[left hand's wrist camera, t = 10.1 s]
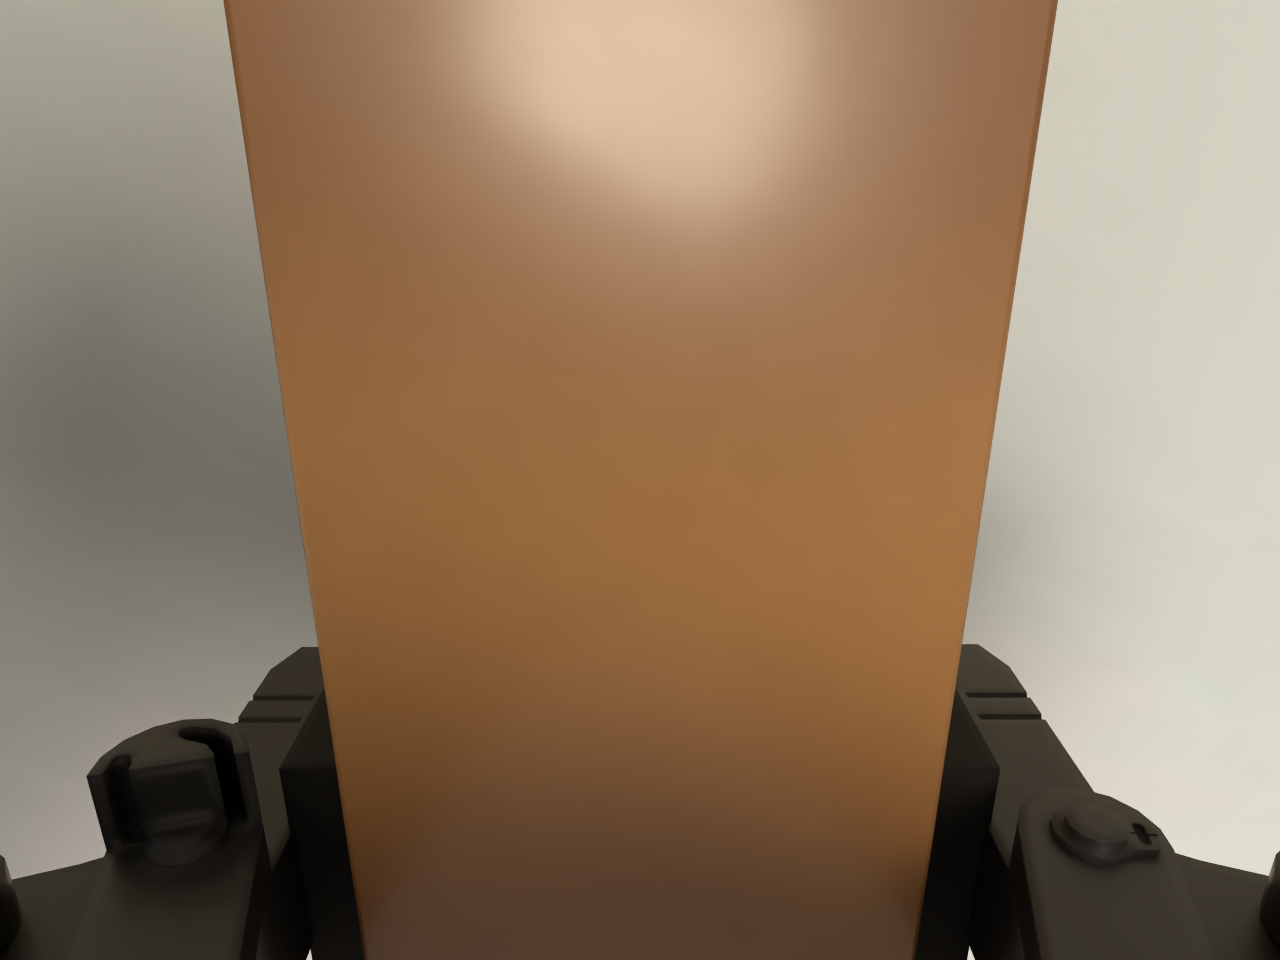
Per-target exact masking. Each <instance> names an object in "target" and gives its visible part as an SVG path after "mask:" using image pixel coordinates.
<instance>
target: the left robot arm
mask: <svg viewBox="0 0 1280 960" xmlns="http://www.w3.org/2000/svg"><path fill="white" fill-rule="evenodd" d="M87 780H88V784H89V787H90V791H91V795H92V798H93V802H94V806H95V809H96V813H97V817H98V820H99V824H100V828H101V831H102V835H103V839H104V843H105V846H106V850H107V851H106V853H105V856H104V857H102V858H99V859H96V860H92V861H89V862H86V863H82V864H79V865H74V866H70V867H66V868H61V869H57V870H53V871H48V872H44V873H39V874H35V875H31V876H26V877H22V878H17V879H13V880H11V877H10V874H9V871H8V868H7V865H6V862H5V859H4V857H2V856H1V855H0V960H306V959H307V956H308V953H309V951H310V948H311V954H312V960H364V953H363V946H362V940H361V933H360V926H359V919H358V912H357V906H356V899H355V892H354V885H353V878H352V872H351V865H350V858H349V851H348V844H347V838H346V831H345V824H344V817H343V810H342V804H341V797H340V790H339V783H338V776H337V770H336V763H335V756H334V749H333V742H332V735H331V729H330V722H329V715H328V708H327V701H326V695H325V688H324V681H323V674H322V667H321V661H320V654H319V647H301V648H300V649H299V650H297V651H296V652H294V653H293V654H292V655H290V656H289V657H288V658H286V659H285V660H283V661H282V662H281V663H279V664H278V665H276V666H275V667H274V668H272V669H271V670H270V671H269V673H268V674H267V676H266V677H265V679H264V680H263V682H262V683H261V685H260V686H259V688H258V689H257V691H256V692H255V694H254V695H253V701H249V703H248V704H247V706H246V707H245V709H244V710H243V711H242V713H241V714H240V716H239V721H238V723H234V724H230V723H226V722H222V721H218V720H214V719H191V720H181V721H176V722H172V723H168V724H164V725H160V726H156V727H152V728H150V729H148V730H146V731H144V732H141V733H139V734H137V735H135V736H132V737H130V738H128V739H126V740H124V741H122V742H121V743H120V744H118V745H117V746H115V747H114V748H113V749H111V750H110V751H109V752H107V753H106V754H104V755H103V756H102V757H101V758H100V759H99V760H98V762H97V763H96V764H95V766H94V767H93V768H92V769H91V771H90V772H89V773H88V775H87ZM969 946H970V948H971V951H972V953H973V956H974V958H975V960H1280V851H1279V852H1278V853H1277V854H1276V856H1275V859H1274V862H1273V865H1272V868H1271V871H1270V875H1269V876H1266V875H1262V874H1257V873H1253V872H1248V871H1244V870H1240V869H1235V868H1231V867H1226V866H1222V865H1218V864H1213V863H1209V862H1204V861H1200V860H1197V859H1193V858H1190V857H1187V856H1183V855H1180V854H1177V853H1175V852H1174V849H1173V848H1172V846H1171V845H1170V843H1169V842H1168V840H1167V839H1166V837H1165V836H1164V834H1163V832H1162V831H1161V829H1160V828H1158V827H1157V826H1156V825H1155V824H1154V823H1152V822H1151V821H1150V820H1149V819H1147V818H1146V817H1145V816H1144V815H1143V814H1141V813H1140V812H1139V811H1138V810H1136V809H1134V808H1132V807H1130V806H1128V805H1126V804H1124V803H1122V802H1120V801H1118V800H1116V799H1114V798H1112V797H1110V796H1106V795H1102V794H1098V793H1095V792H1094V791H1093V790H1092V788H1091V787H1090V785H1089V784H1088V782H1087V781H1086V779H1085V778H1084V776H1083V775H1082V773H1081V772H1080V770H1079V769H1078V768H1077V766H1076V765H1075V763H1074V762H1073V760H1072V759H1071V757H1070V756H1069V754H1068V753H1067V751H1066V750H1065V748H1064V747H1063V745H1062V744H1061V742H1060V741H1059V739H1058V738H1057V737H1056V735H1055V734H1054V732H1053V731H1052V729H1051V728H1050V726H1049V725H1048V723H1047V722H1046V720H1042V718H1041V713H1040V711H1039V710H1038V708H1037V707H1036V706H1035V704H1034V703H1033V701H1032V700H1031V698H1027V692H1026V691H1025V689H1024V688H1023V686H1022V685H1021V683H1020V682H1019V680H1018V679H1017V677H1016V676H1015V675H1014V673H1013V672H1012V670H1011V669H1010V667H1009V666H1008V665H1006V664H1005V663H1003V662H1002V661H1001V660H999V659H998V658H996V657H995V656H994V655H992V654H991V653H989V652H988V651H987V650H985V649H984V648H982V647H981V646H980V645H978V644H962V646H961V653H960V659H959V666H958V673H957V680H956V686H955V693H954V700H953V706H952V713H951V720H950V727H949V733H948V740H947V747H946V753H945V760H944V767H943V773H942V780H941V787H940V794H939V800H938V807H937V814H936V820H935V827H934V834H933V840H932V847H931V854H930V861H929V867H928V874H927V881H926V887H925V894H924V901H923V907H922V914H921V921H920V928H919V934H918V941H917V948H916V954H915V960H967V956H968V951H969Z"/></svg>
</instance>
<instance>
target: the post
mask: <svg viewBox="0 0 1280 960" xmlns="http://www.w3.org/2000/svg"><path fill="white" fill-rule="evenodd" d="M1057 3H1058V0H224V7H225V14H226V21H227V28H228V34H229V41H230V48H231V55H232V62H233V68H234V75H235V82H236V89H237V96H238V102H239V109H240V116H241V123H242V130H243V136H244V143H245V150H246V157H247V164H248V170H249V177H250V184H251V191H252V198H253V204H254V211H255V218H256V225H257V232H258V239H259V245H260V252H261V259H262V266H263V273H264V279H265V286H266V293H267V300H268V307H269V313H270V320H271V327H272V334H273V341H274V347H275V354H276V361H277V368H278V375H279V381H280V388H281V395H282V402H283V409H284V416H285V422H286V429H287V436H288V443H289V450H290V456H291V463H292V470H293V477H294V484H295V490H296V497H297V504H298V511H299V518H300V524H301V531H302V538H303V545H304V552H305V558H306V565H307V572H308V579H309V586H310V593H311V599H312V606H313V613H314V620H315V627H316V633H317V640H318V647H319V654H320V661H321V667H322V674H323V681H324V688H325V695H326V701H327V708H328V715H329V722H330V729H331V735H332V742H333V749H334V756H335V763H336V770H337V776H338V783H339V790H340V797H341V804H342V810H343V817H344V824H345V831H346V838H347V844H348V851H349V858H350V865H351V872H352V878H353V885H354V892H355V899H356V906H357V912H358V919H359V926H360V933H361V940H362V946H363V953H364V960H915V954H916V948H917V941H918V934H919V928H920V921H921V914H922V907H923V901H924V894H925V887H926V881H927V874H928V867H929V861H930V854H931V847H932V840H933V834H934V827H935V820H936V814H937V807H938V800H939V794H940V787H941V780H942V773H943V767H944V760H945V753H946V747H947V740H948V733H949V727H950V720H951V713H952V706H953V700H954V693H955V686H956V680H957V673H958V666H959V659H960V653H961V646H962V639H963V633H964V626H965V619H966V613H967V606H968V599H969V592H970V586H971V579H972V572H973V566H974V559H975V552H976V546H977V539H978V532H979V525H980V519H981V512H982V505H983V499H984V492H985V485H986V479H987V472H988V465H989V458H990V452H991V445H992V438H993V432H994V425H995V418H996V411H997V405H998V398H999V391H1000V385H1001V378H1002V371H1003V365H1004V358H1005V351H1006V344H1007V338H1008V331H1009V324H1010V318H1011V311H1012V304H1013V298H1014V291H1015V284H1016V277H1017V271H1018V264H1019V257H1020V251H1021V244H1022V237H1023V231H1024V224H1025V217H1026V210H1027V204H1028V197H1029V190H1030V184H1031V177H1032V170H1033V164H1034V157H1035V150H1036V143H1037V137H1038V130H1039V123H1040V117H1041V110H1042V103H1043V96H1044V90H1045V83H1046V76H1047V70H1048V63H1049V56H1050V50H1051V43H1052V36H1053V29H1054V23H1055V16H1056V9H1057Z"/></svg>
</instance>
